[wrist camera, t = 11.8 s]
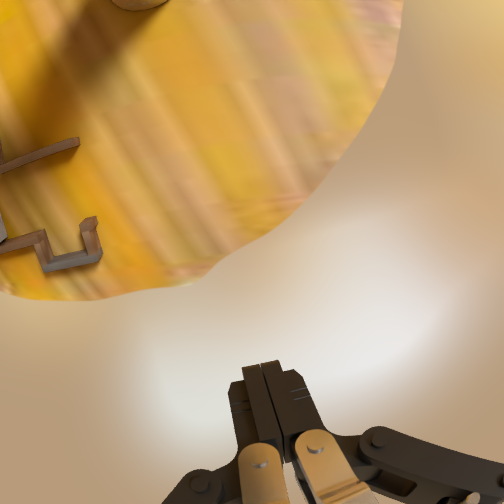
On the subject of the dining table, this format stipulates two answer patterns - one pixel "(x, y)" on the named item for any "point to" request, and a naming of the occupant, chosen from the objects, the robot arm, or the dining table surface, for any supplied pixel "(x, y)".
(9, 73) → the dining table surface
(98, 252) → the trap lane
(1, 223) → the block
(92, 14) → the dining table surface
